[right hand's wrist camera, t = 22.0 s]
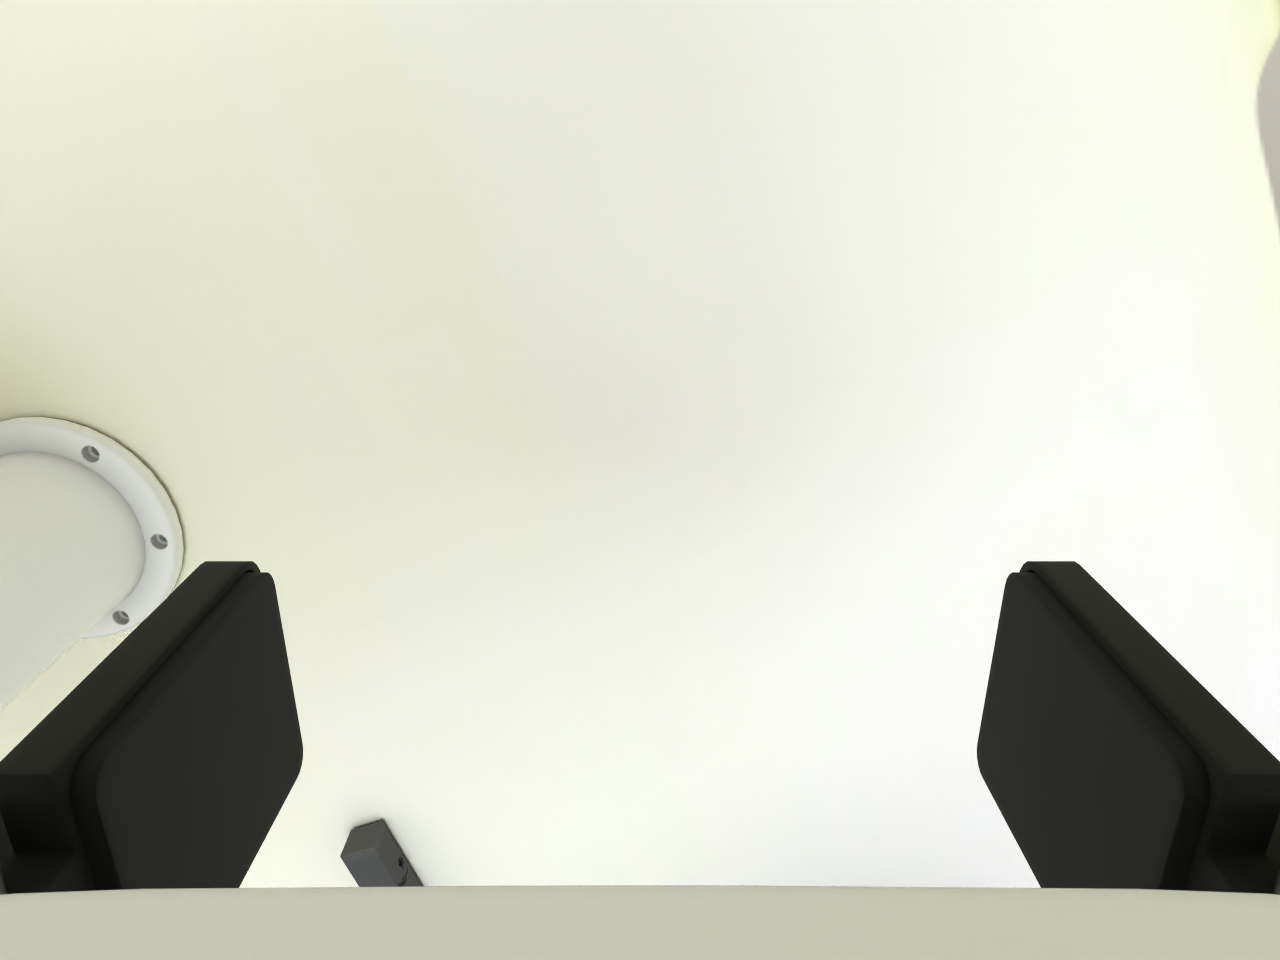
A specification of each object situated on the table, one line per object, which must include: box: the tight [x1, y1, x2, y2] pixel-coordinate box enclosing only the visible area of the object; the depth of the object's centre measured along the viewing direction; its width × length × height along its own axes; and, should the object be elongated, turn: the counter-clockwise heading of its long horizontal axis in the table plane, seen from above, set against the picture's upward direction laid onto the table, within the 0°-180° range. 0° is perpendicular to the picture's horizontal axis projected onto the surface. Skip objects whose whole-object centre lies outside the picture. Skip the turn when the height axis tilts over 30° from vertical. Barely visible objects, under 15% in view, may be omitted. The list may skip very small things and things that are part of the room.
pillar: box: [340, 820, 422, 887], centre depth 57 cm, size 2×2×20 cm
